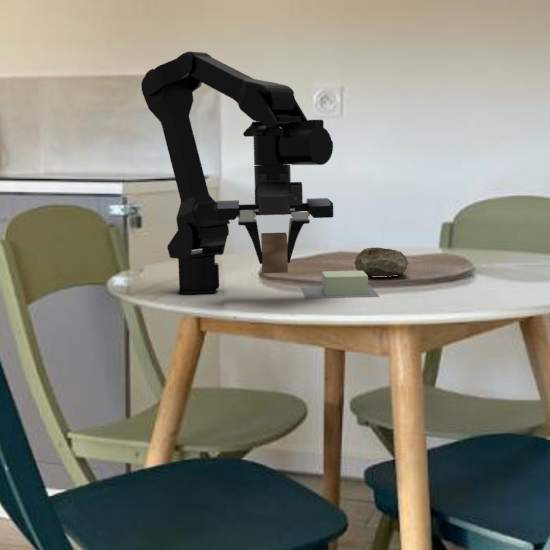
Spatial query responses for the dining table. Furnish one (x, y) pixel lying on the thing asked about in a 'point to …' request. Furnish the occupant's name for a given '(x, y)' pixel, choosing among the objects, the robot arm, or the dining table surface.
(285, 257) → the walnut block
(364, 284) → the base block
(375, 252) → the stone
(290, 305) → the dining table surface
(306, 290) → the build mat
